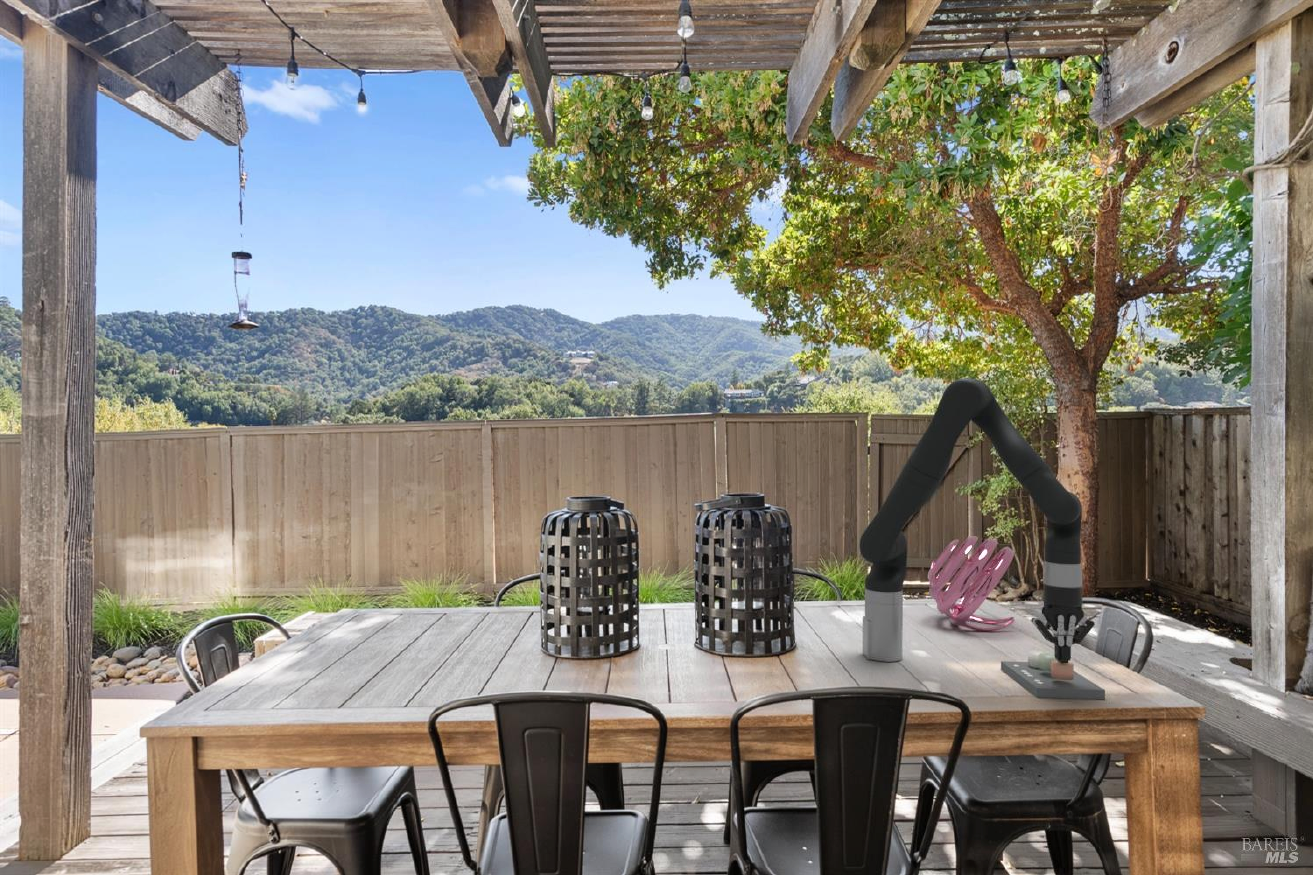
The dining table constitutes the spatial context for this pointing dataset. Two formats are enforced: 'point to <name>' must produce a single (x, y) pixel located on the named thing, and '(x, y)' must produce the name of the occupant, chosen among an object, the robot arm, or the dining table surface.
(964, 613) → the spiral basket
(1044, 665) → the sage button
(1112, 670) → the dining table surface
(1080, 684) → the charcoal panel
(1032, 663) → the cream button
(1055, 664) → the terracotta button
